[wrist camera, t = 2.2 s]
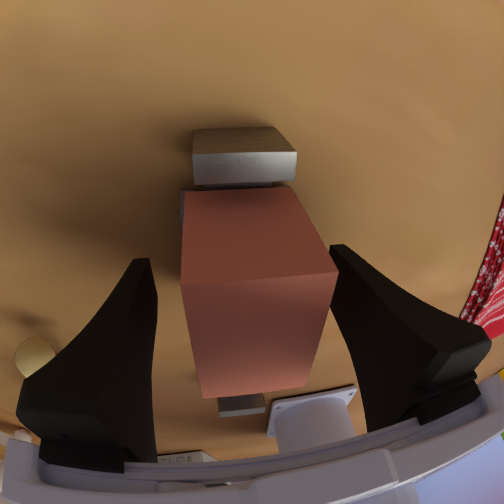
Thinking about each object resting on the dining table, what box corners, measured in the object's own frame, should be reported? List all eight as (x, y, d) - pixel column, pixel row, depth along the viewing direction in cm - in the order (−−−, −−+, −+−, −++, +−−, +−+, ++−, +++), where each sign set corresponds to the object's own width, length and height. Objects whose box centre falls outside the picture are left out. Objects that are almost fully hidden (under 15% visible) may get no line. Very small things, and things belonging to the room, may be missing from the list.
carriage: (279, 282, 17) (311, 385, 12) (191, 289, 16) (196, 398, 11) (289, 174, 13) (347, 270, 8) (179, 179, 12) (169, 285, 7)
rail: (258, 378, 23) (265, 412, 20) (215, 382, 22) (219, 417, 20) (275, 127, 12) (296, 152, 9) (193, 130, 11) (192, 154, 9)
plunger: (85, 383, 18) (81, 416, 16) (55, 381, 18) (49, 412, 16) (54, 337, 15) (44, 374, 13) (21, 336, 15) (9, 370, 13)
